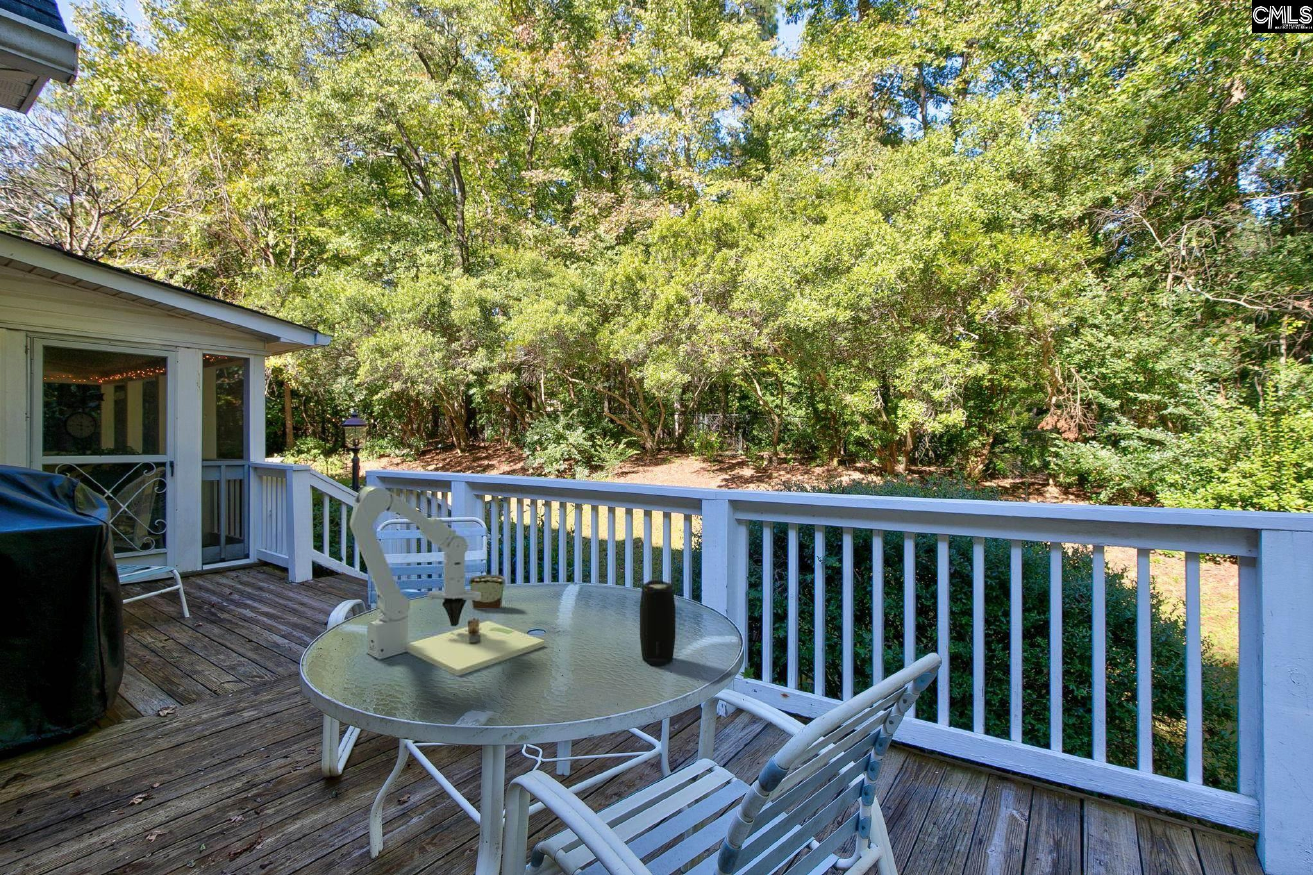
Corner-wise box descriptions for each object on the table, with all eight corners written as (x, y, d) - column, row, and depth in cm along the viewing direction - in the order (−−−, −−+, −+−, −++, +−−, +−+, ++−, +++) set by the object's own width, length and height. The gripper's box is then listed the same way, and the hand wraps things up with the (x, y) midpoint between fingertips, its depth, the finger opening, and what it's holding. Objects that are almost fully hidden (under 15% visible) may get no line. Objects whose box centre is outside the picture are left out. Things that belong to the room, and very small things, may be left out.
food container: (511, 604, 200) (511, 574, 200) (504, 609, 194) (504, 579, 194) (475, 603, 201) (475, 573, 201) (468, 608, 195) (468, 578, 195)
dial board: (457, 676, 140) (457, 669, 140) (404, 650, 157) (404, 644, 157) (544, 646, 160) (544, 640, 160) (488, 625, 177) (488, 620, 177)
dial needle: (481, 642, 158) (481, 630, 158) (469, 643, 157) (469, 631, 157) (478, 628, 170) (478, 616, 170) (467, 629, 169) (467, 618, 169)
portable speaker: (647, 652, 156) (647, 577, 156) (680, 657, 152) (681, 581, 152) (633, 663, 148) (633, 585, 148) (668, 669, 144) (668, 589, 144)
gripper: (484, 573, 170) (485, 621, 170) (436, 573, 171) (436, 619, 171) (475, 580, 163) (475, 629, 163) (424, 579, 164) (424, 627, 164)
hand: (454, 625), depth 167 cm, fingers closed
